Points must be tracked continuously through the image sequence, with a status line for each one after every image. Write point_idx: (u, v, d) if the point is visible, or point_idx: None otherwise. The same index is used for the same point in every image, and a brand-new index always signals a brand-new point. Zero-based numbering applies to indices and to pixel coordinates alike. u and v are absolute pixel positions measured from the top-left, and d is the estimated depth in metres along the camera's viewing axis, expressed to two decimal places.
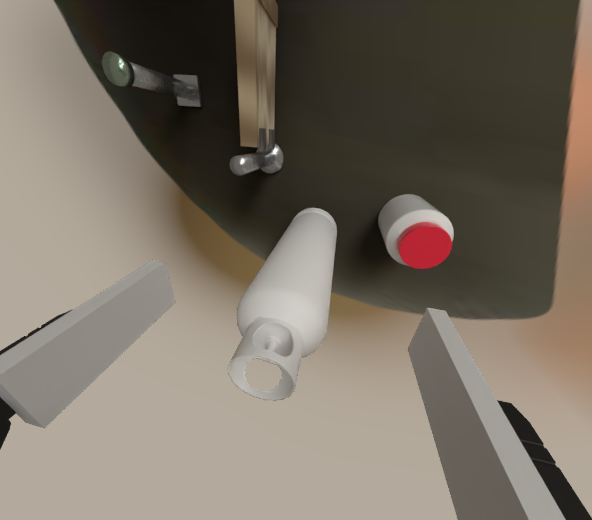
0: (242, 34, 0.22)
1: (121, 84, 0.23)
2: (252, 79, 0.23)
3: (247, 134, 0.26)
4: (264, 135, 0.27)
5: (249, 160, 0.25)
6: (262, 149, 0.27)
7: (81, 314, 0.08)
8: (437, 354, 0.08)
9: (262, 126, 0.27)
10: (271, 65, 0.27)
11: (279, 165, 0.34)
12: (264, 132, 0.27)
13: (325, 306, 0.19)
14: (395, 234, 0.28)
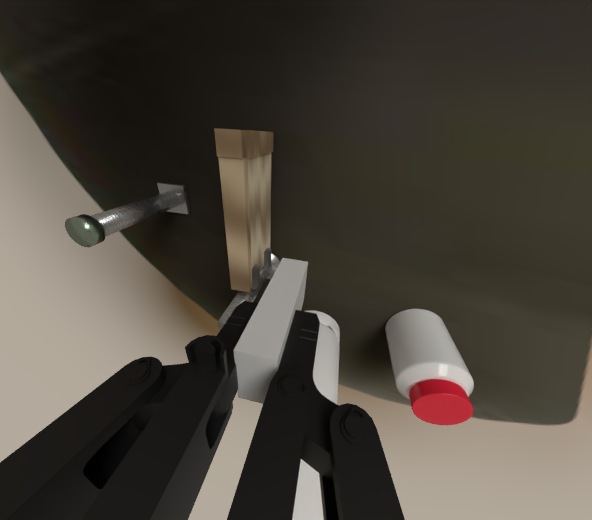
0: (230, 196, 0.18)
1: (89, 246, 0.19)
2: (243, 235, 0.20)
3: (238, 280, 0.22)
4: (258, 272, 0.24)
5: None
6: (256, 287, 0.24)
7: (270, 304, 0.09)
8: None
9: (256, 261, 0.24)
10: (266, 193, 0.24)
11: None
12: (258, 271, 0.23)
13: None
14: (407, 382, 0.24)
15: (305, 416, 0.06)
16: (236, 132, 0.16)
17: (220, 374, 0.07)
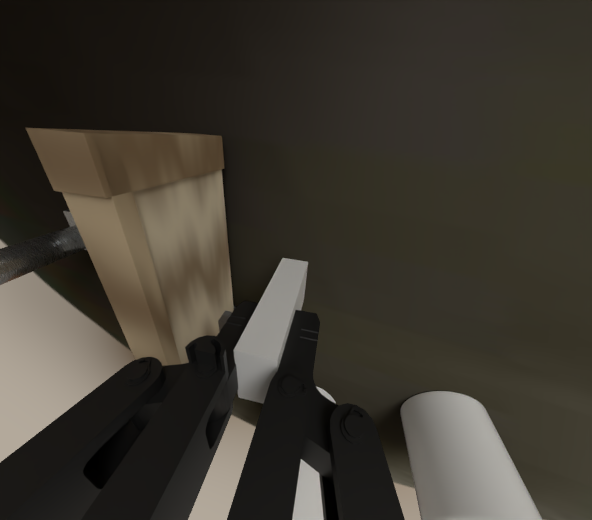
0: (109, 267, 0.09)
1: None
2: (150, 331, 0.10)
3: None
4: None
5: None
6: None
7: (270, 304, 0.09)
8: None
9: None
10: (214, 235, 0.14)
11: None
12: None
13: None
14: None
15: (305, 416, 0.06)
16: (75, 138, 0.06)
17: (220, 374, 0.07)
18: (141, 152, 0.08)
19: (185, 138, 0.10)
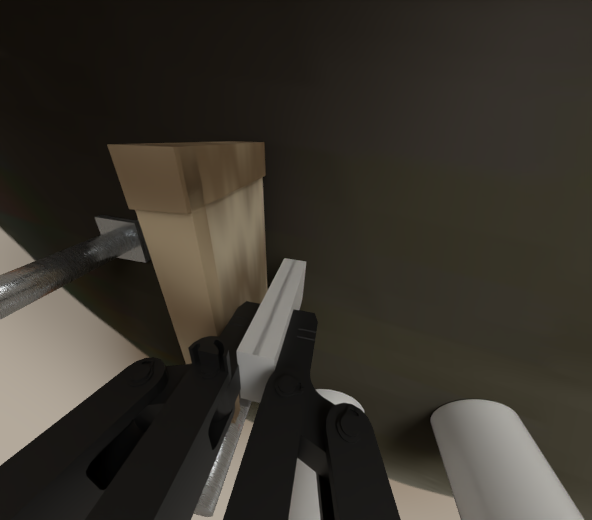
0: (176, 285, 0.08)
1: None
2: None
3: None
4: None
5: (220, 474, 0.12)
6: (247, 404, 0.14)
7: (272, 305, 0.09)
8: None
9: None
10: (257, 244, 0.14)
11: None
12: None
13: None
14: None
15: (301, 415, 0.06)
16: (163, 152, 0.06)
17: (223, 375, 0.07)
18: (211, 164, 0.08)
19: (240, 146, 0.10)
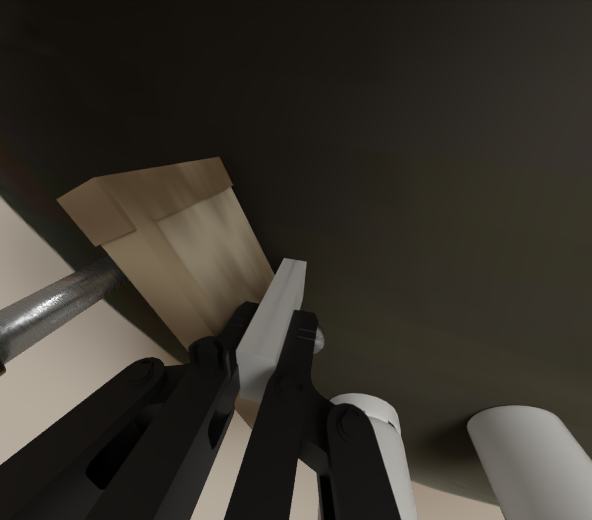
0: (162, 301, 0.09)
1: None
2: None
3: (254, 417, 0.12)
4: None
5: None
6: None
7: (271, 305, 0.09)
8: None
9: None
10: (248, 250, 0.14)
11: (316, 349, 0.21)
12: None
13: None
14: None
15: (302, 415, 0.06)
16: (90, 186, 0.07)
17: (222, 375, 0.07)
18: (150, 184, 0.09)
19: (186, 165, 0.11)
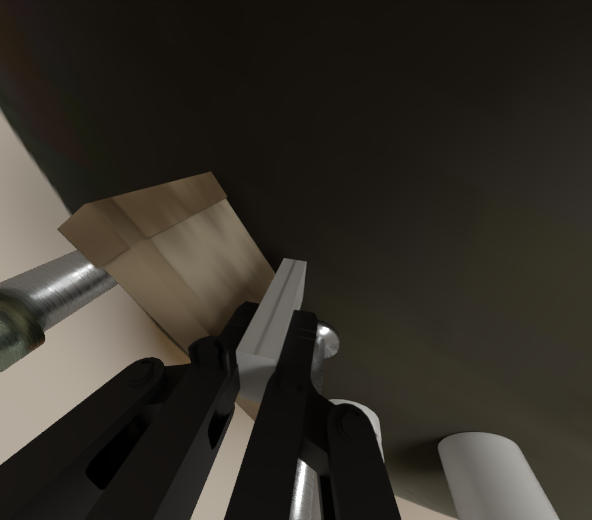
0: (164, 314, 0.09)
1: None
2: None
3: None
4: None
5: (311, 499, 0.11)
6: None
7: (271, 305, 0.09)
8: None
9: None
10: (248, 258, 0.15)
11: (327, 355, 0.21)
12: None
13: None
14: None
15: (302, 415, 0.06)
16: (83, 212, 0.07)
17: (222, 375, 0.07)
18: (141, 205, 0.09)
19: (176, 183, 0.11)
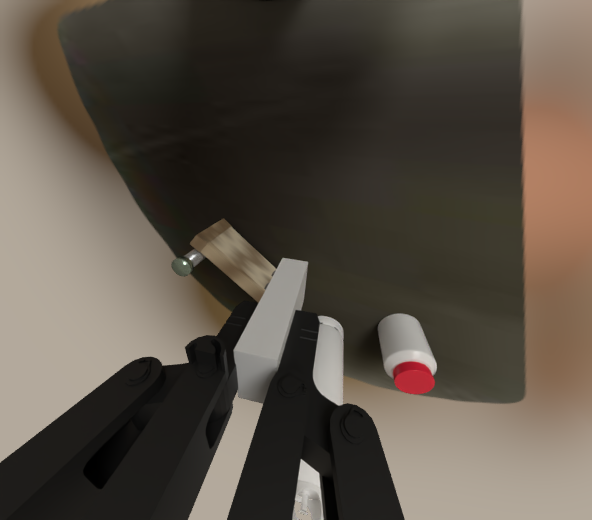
0: (218, 262, 0.33)
1: (184, 275, 0.30)
2: (239, 274, 0.33)
3: None
4: None
5: None
6: None
7: (270, 304, 0.09)
8: None
9: (265, 282, 0.36)
10: (244, 246, 0.38)
11: None
12: None
13: None
14: (391, 365, 0.35)
15: (305, 416, 0.06)
16: (196, 237, 0.31)
17: (220, 374, 0.07)
18: (206, 233, 0.33)
19: (213, 225, 0.35)
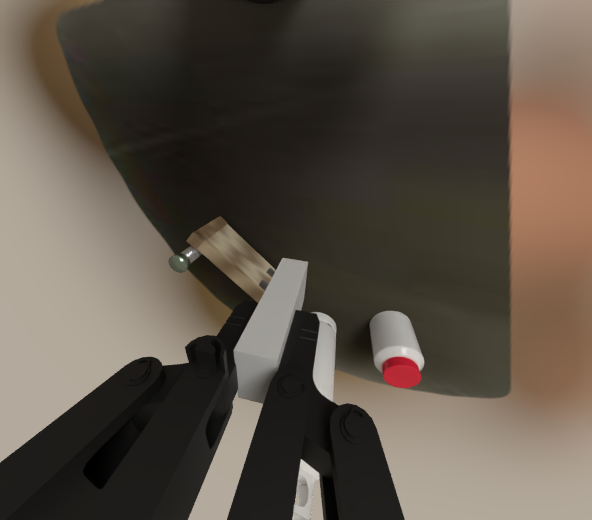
0: (214, 259, 0.34)
1: None
2: (234, 271, 0.34)
3: (255, 295, 0.35)
4: (265, 284, 0.36)
5: None
6: None
7: (270, 304, 0.09)
8: None
9: (260, 279, 0.37)
10: (239, 243, 0.39)
11: None
12: (263, 283, 0.36)
13: None
14: (380, 360, 0.36)
15: (305, 416, 0.06)
16: (192, 234, 0.32)
17: (220, 374, 0.07)
18: (203, 230, 0.33)
19: (210, 222, 0.36)
